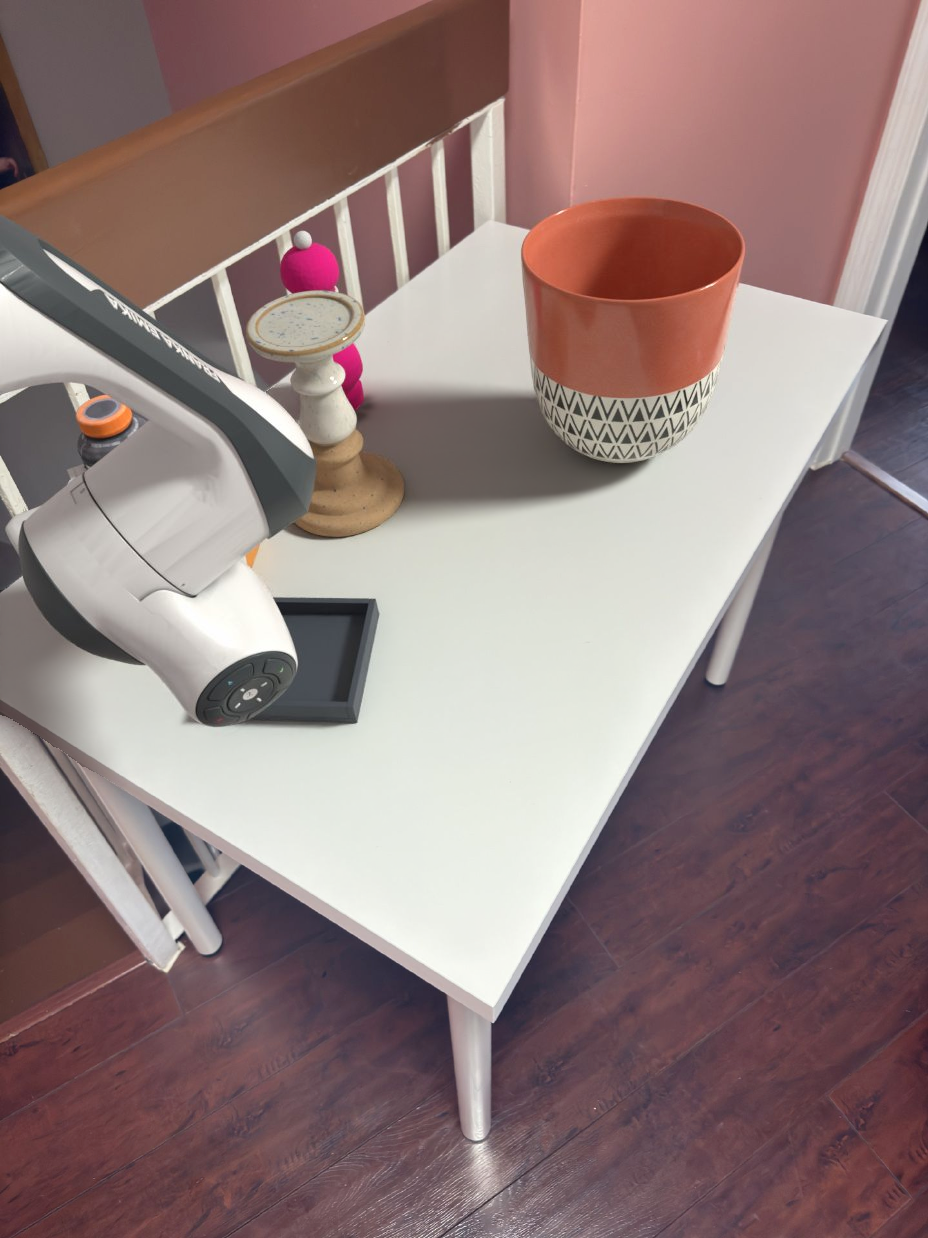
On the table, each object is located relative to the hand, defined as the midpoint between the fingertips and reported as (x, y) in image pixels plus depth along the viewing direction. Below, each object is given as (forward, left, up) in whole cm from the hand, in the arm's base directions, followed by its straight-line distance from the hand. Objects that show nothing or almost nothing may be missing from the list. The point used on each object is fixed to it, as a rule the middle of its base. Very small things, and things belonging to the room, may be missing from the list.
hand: (121, 456), depth 75 cm
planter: (+42, +22, -16) cm, 50 cm away
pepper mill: (+10, +30, -16) cm, 35 cm away
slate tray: (+14, -9, -16) cm, 23 cm away
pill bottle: (+1, -1, -6) cm, 6 cm away
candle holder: (+14, +13, -16) cm, 25 cm away
